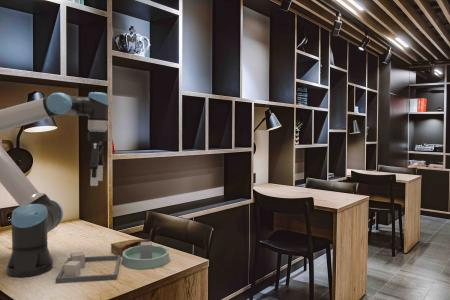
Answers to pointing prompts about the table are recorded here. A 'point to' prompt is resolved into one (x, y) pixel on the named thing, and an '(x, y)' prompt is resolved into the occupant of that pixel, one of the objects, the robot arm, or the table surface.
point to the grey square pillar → (146, 250)
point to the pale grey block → (79, 258)
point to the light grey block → (72, 269)
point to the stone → (125, 245)
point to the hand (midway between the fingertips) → (96, 183)
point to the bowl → (133, 259)
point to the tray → (91, 277)
